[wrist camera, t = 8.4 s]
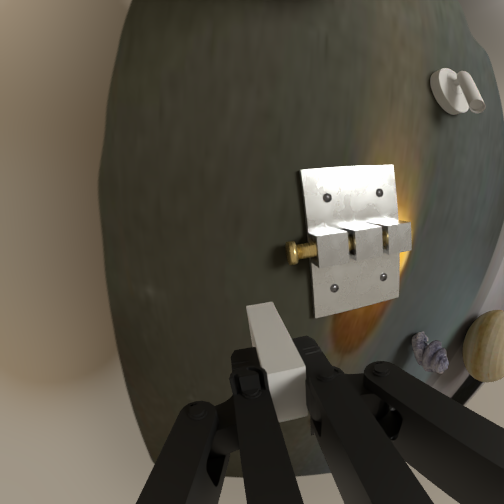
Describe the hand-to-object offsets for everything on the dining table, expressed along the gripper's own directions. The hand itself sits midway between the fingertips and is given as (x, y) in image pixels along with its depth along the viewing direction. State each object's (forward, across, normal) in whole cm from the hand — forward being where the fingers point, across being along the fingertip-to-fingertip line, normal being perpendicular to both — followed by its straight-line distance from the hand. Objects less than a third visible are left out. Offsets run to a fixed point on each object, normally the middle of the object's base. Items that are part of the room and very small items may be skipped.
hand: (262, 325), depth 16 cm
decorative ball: (+19, +47, -25) cm, 57 cm away
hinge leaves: (+19, +16, 0) cm, 25 cm away
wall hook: (+20, +40, +23) cm, 50 cm away
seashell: (+19, +28, -20) cm, 40 cm away
